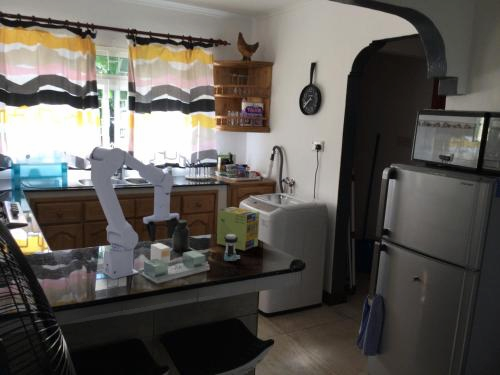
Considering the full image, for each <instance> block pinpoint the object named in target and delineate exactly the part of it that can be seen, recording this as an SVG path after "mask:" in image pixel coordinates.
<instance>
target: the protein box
mask: <svg viewBox="0 0 500 375" xmlns="http://www.w3.org/2000/svg"><path fill="white" fill-rule="evenodd" d="M217 214H218V215H217V235H216V244H217V245H220V246H225V247H226V242H225V239H224V237H225V236H227V234H234V235H236V237H238V239H237V242H236V243H235V250H236V249H237V250H240V251H247V250H250V249H252V247H253V248H255V247H258V246H259V230H260V228H259V227H260V211H258V210H251V209H247V208H241V207H234V206H231V207H230V206H229V207H225V208H221V209H218V212H217ZM228 245H229V244H228Z"/></svg>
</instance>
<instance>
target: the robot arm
mask: <svg viewBox="0 0 500 375" xmlns="http://www.w3.org/2000/svg"><path fill="white" fill-rule="evenodd" d="M88 160H89V162H90V163H91V164H90V179H91V180H90V181H91V183H92V186H93V188H94V190H95V193H96V196H97V198H98V201H99V203H100V205H101V208H102V211H103V213H104V216H105V218H106V221H107V223H108V225H107V226H106V228H105V230H106V239H107V242H108V243H109V244H110V249H108V250H105V251H104V252H103V256H102V257H103V259H102V260H103V262H102V263H103V264H102V265H103V270H102V273H103V274H104V275H106V276H107V277H109V278H110V279H112V280H115V279H119V278H123V277H127V276H132V275H136V274H139V271H138V270H136V269H135V268H134V249H136V248H135V247H136V246H137V245H138V243H139V235H138V233H137V232H136V231H135V230H134V228H133V226H132V225H131V224H130V223H129V222H128V221H127V220H126V218H125V216H124V212H123V210H122V209H123V208H122V206H121V205H120V201H119V199H118V196H117V194H116V190H115V188H114V186H113V183H112V180H111V179H112V177H113V176H114V175H115V174H116V173H117V172H118V170H119V169H120V168H121V167H122V166H126V167H128V168H130V169H132V170H134V171H136V172H138V175H139V177H141V179H143V180H146V182H147V181H148V182H149V183H151V185H152V186H153V187H154V192H153V193H154V195H153V196H154V197H153V198H154V199H153V204H154V205H153V214H152V215H148V216H144V217H143V218H142V220H143V221H142V223H143V225H144V227H145V228H146V230H147V233H148V237H149V241H150V242H152V243H155V242H156V231H157V227H158V224H156V223H157V222H166V228H167V230H166V235H167V236H166V238H168V239H170V240H171V239H172V240H173V233H174V230H175V228H176V226H177V224H178V222H179V220H180V213H177V212H174V213H173V212H172V213H170V209H171V208H170V207H171V205H170V204H171V192H172V188H173V186H174V182H175V180H174V178H173V175H172V174H171V173H169V172H165V171H164V169H162V168H159V167H157V166H155V163H154V162H142V161H140V160H139V159H137V158H136V157H135V156H133V155H131V154H130V153H128V152H127V151H126V150H123V149H121V148H119V147H109V146H103V145H97V146H95V147H94V148H93V149H92V150H91V153H90V155H89V156H88Z"/></svg>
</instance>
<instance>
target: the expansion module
mask: <svg viewBox="0 0 500 375" xmlns="http://www.w3.org/2000/svg"><path fill="white" fill-rule="evenodd" d="M153 259H159V260H161V261H163V262H165V263H169V262H171V247H170V246H169V245H166V244H163V243H162V242H157V243H153V244H150V260H153Z"/></svg>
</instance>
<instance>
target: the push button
mask: <svg viewBox="0 0 500 375" xmlns="http://www.w3.org/2000/svg"><path fill="white" fill-rule="evenodd" d="M224 239H225V242H226V246H225V251H224V253H223V260H224V262H229V261H237V260H238V259H239V260H240V259H241V257H239V255H237V252H236V248H235V243H236V242H237V239H238V237H236V235H234V234H227V236H225V237H224ZM228 244H229V245H228Z"/></svg>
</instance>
